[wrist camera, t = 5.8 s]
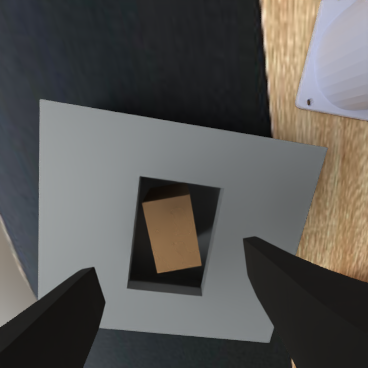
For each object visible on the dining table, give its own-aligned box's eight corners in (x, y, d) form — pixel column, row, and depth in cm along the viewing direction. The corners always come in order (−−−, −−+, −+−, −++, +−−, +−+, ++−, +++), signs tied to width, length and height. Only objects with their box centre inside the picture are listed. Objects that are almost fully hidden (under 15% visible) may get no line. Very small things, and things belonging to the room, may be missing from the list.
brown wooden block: (186, 181, 16) (189, 194, 12) (195, 237, 17) (201, 265, 13) (149, 188, 16) (141, 202, 12) (161, 243, 17) (157, 273, 13)
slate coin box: (282, 145, 16) (327, 147, 11) (245, 291, 19) (269, 342, 14) (83, 112, 15) (40, 99, 10) (75, 273, 18) (37, 322, 13)
